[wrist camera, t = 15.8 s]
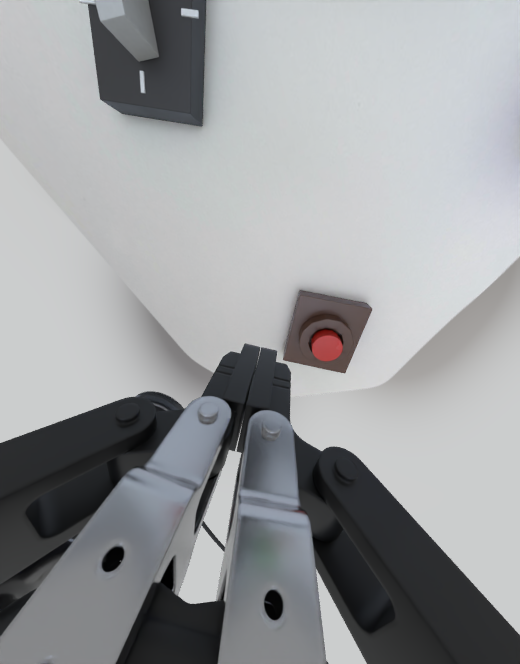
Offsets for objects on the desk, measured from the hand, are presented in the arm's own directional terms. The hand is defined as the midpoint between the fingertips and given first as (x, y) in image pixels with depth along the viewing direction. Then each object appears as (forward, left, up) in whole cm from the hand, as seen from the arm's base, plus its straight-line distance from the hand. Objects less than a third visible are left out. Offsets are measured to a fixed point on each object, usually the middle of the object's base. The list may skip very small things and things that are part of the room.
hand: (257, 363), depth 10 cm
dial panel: (+19, +16, -21) cm, 32 cm away
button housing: (-6, -7, -21) cm, 23 cm away
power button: (-6, -7, -17) cm, 20 cm away
